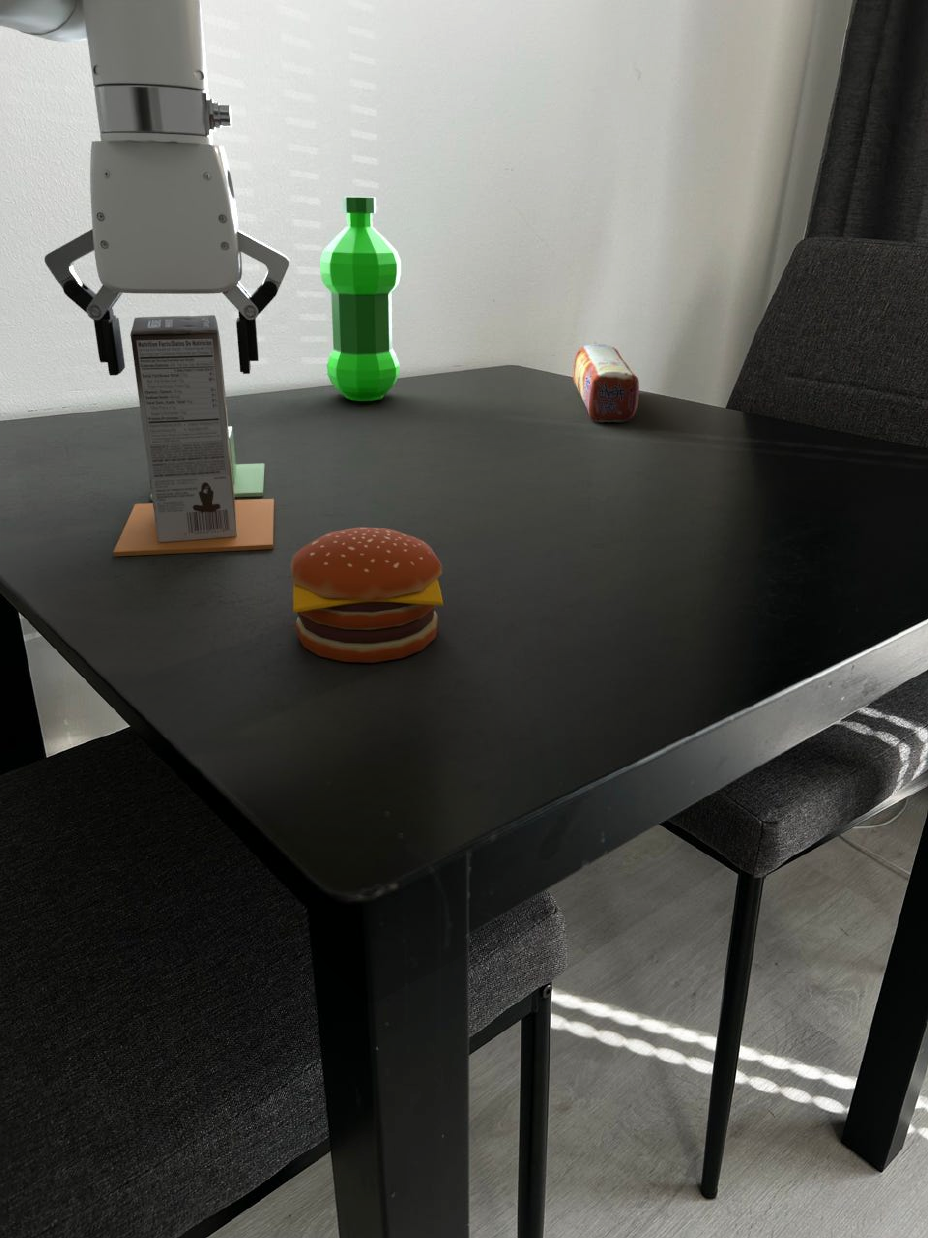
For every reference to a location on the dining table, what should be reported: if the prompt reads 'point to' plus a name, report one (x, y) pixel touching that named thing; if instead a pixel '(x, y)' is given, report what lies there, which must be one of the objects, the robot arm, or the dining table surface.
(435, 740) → the dining table surface
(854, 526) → the dining table surface
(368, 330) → the plastic bottle
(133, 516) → the caramel mat
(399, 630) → the hamburger
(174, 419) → the coffee box
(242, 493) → the green mat
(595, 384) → the snack package
